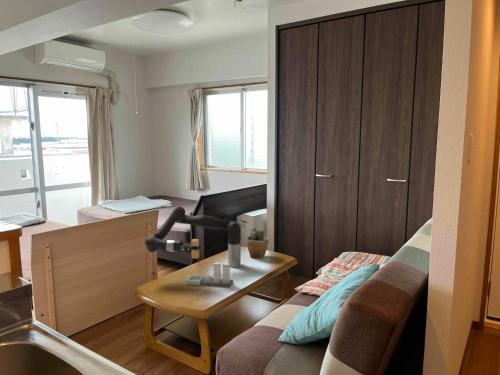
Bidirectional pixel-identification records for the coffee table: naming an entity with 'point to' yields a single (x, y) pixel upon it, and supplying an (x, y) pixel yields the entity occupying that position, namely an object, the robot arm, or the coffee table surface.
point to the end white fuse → (226, 271)
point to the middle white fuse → (217, 271)
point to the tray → (194, 280)
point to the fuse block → (216, 282)
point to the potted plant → (257, 243)
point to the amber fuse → (195, 252)
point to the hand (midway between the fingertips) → (199, 247)
